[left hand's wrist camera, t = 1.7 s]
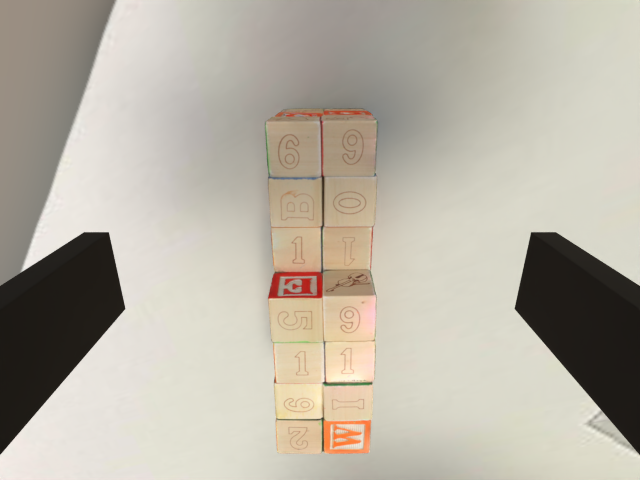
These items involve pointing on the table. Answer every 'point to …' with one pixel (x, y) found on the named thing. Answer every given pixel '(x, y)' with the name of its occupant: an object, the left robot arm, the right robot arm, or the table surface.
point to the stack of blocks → (322, 277)
